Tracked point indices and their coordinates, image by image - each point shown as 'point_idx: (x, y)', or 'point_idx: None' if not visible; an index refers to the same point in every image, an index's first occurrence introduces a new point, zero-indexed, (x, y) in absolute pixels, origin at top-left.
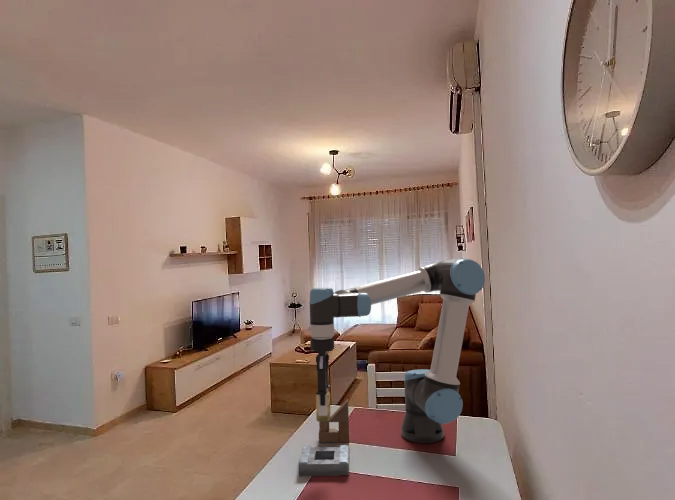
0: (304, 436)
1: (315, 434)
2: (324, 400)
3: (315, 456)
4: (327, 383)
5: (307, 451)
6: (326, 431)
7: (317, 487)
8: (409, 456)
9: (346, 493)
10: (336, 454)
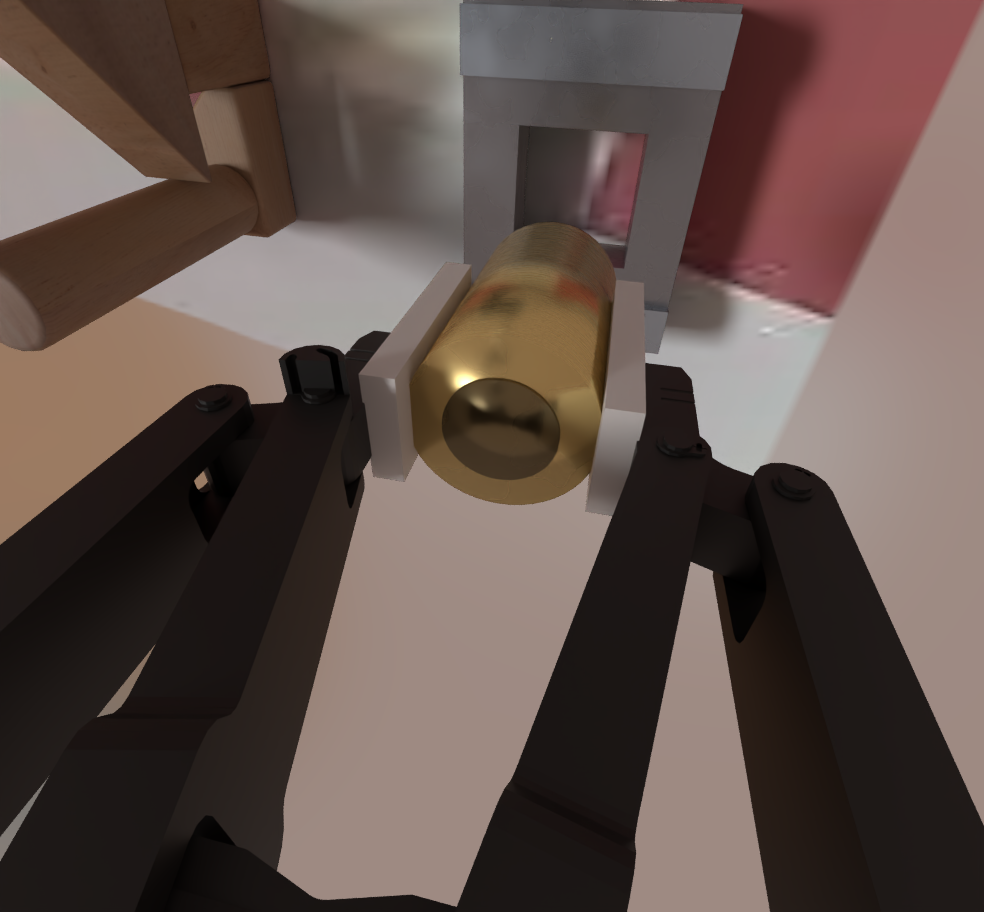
0: (240, 299)
1: None
2: (693, 409)
3: None
4: (335, 430)
5: None
6: (248, 185)
7: (801, 229)
8: None
9: (959, 29)
10: (574, 111)
